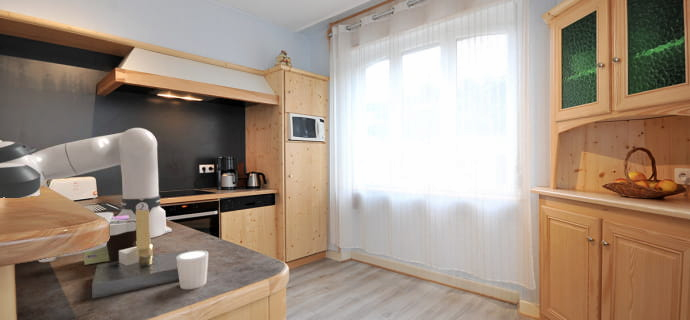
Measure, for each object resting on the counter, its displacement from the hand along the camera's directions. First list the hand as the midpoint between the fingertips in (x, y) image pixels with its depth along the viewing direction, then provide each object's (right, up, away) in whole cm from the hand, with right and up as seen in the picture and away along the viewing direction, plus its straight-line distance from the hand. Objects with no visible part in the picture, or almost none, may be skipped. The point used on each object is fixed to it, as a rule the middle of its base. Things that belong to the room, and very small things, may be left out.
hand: (136, 224), depth 69 cm
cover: (-8, -12, +11) cm, 18 cm away
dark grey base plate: (-3, -15, +9) cm, 17 cm away
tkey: (-3, -11, +7) cm, 14 cm away
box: (-22, -15, +21) cm, 34 cm away
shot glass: (+11, -15, +4) cm, 19 cm away
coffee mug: (-15, -15, +19) cm, 28 cm away
